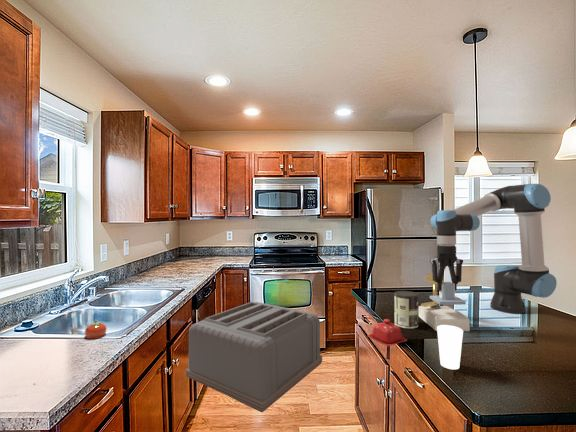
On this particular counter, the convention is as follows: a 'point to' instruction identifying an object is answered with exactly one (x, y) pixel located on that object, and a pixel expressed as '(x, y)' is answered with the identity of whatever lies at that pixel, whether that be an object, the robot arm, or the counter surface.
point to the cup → (450, 345)
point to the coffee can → (406, 309)
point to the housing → (444, 317)
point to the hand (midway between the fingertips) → (447, 297)
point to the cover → (448, 296)
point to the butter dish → (387, 333)
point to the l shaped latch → (430, 279)
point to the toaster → (254, 352)
